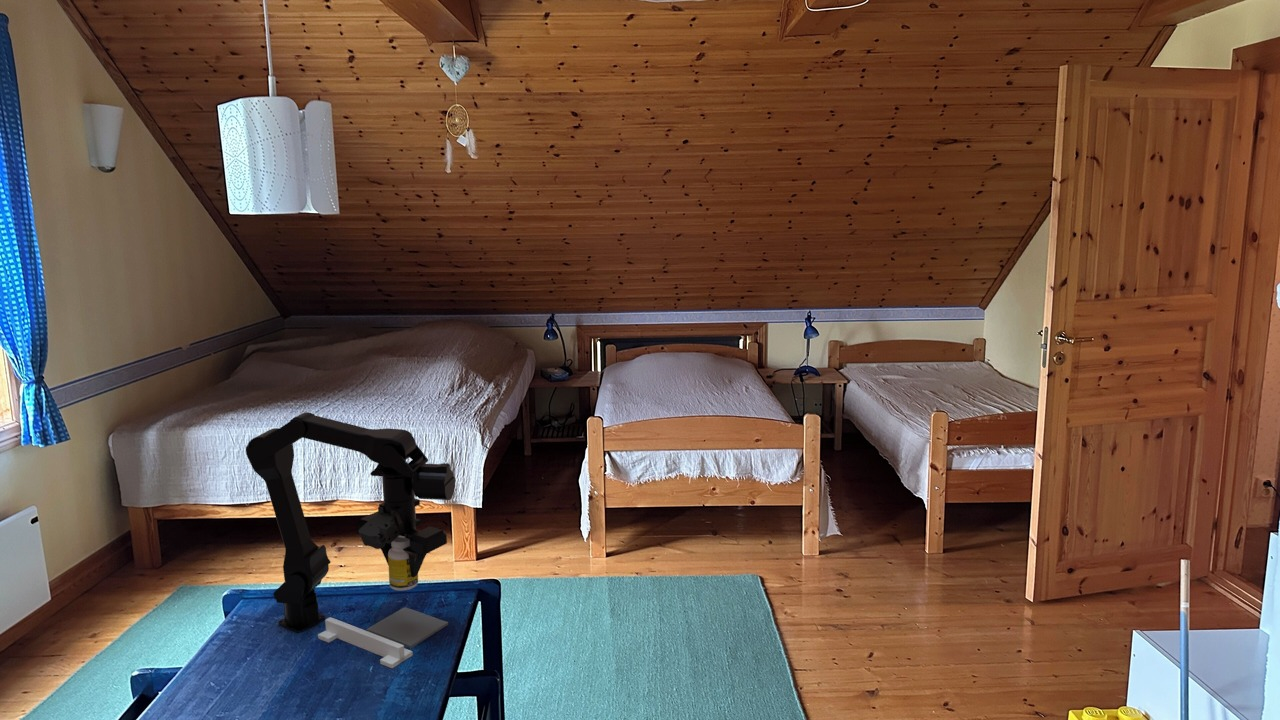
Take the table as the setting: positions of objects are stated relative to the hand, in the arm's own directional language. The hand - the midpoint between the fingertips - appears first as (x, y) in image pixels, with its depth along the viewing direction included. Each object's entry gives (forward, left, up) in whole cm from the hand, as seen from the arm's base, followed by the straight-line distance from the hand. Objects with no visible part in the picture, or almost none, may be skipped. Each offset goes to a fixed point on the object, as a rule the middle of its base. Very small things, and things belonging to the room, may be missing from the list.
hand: (403, 573), depth 159 cm
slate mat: (0, 0, -12) cm, 12 cm away
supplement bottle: (0, 0, -3) cm, 3 cm away
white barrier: (-2, -9, -12) cm, 15 cm away
